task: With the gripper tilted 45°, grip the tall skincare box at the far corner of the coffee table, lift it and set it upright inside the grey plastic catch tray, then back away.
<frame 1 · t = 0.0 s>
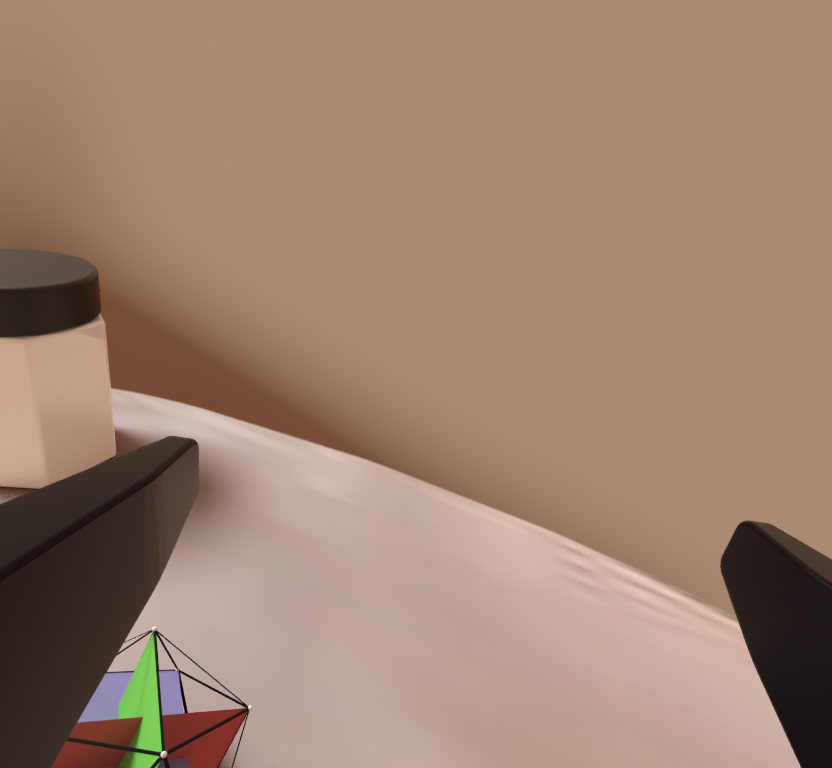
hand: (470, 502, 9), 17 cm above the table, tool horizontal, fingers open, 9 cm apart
jar: (41, 454, 34), on the table
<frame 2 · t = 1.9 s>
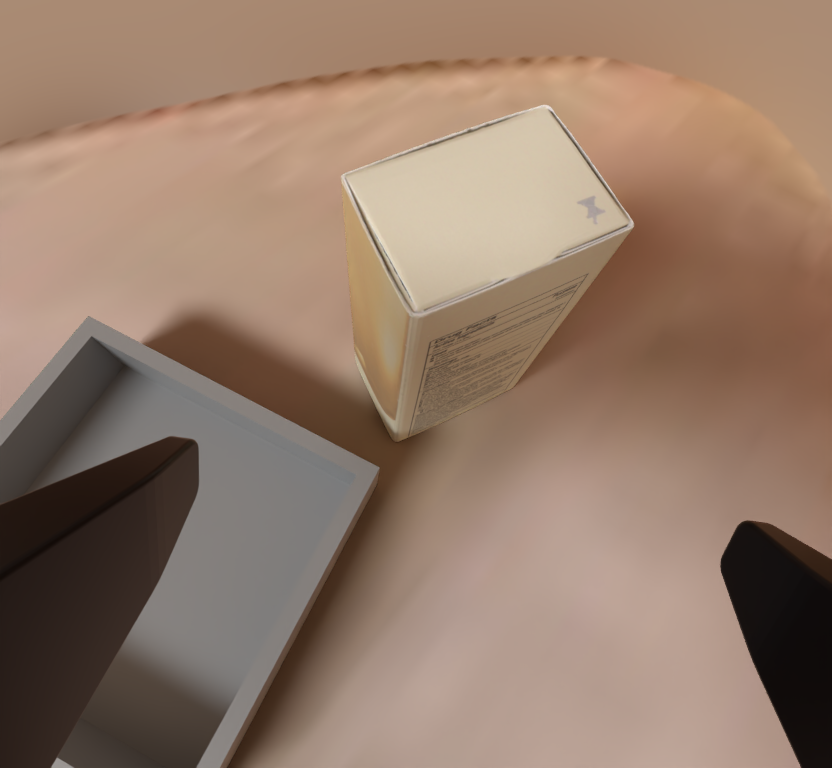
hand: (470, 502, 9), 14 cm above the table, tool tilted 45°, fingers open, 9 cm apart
catch tray: (161, 552, 21), on the table
skincare box: (431, 378, 24), on the table
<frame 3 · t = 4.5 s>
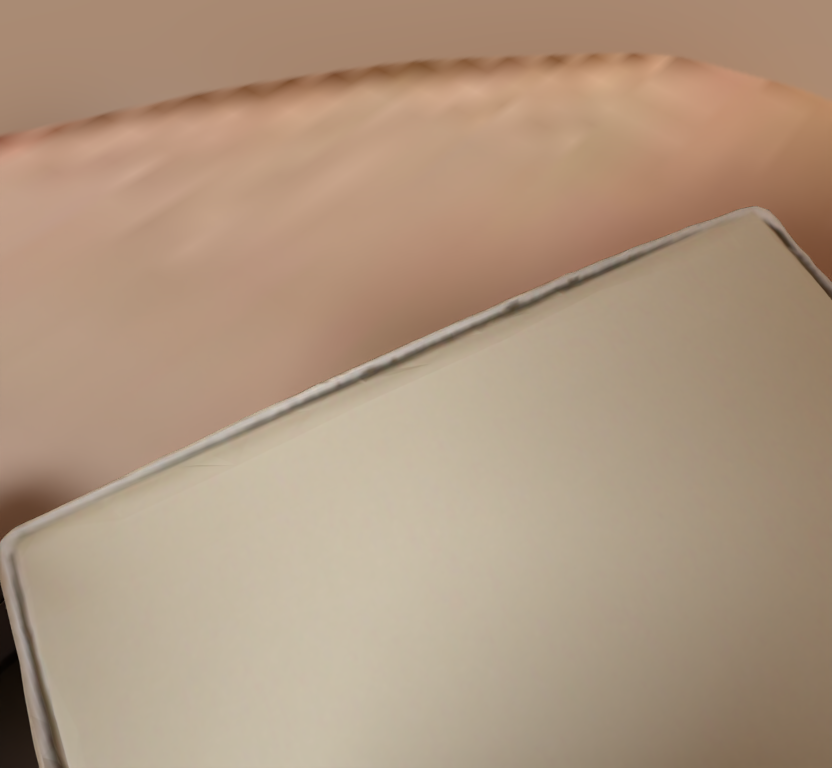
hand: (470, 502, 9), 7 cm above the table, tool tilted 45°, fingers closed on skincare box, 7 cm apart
skincare box: (418, 587, 15), on the table, touching gripper
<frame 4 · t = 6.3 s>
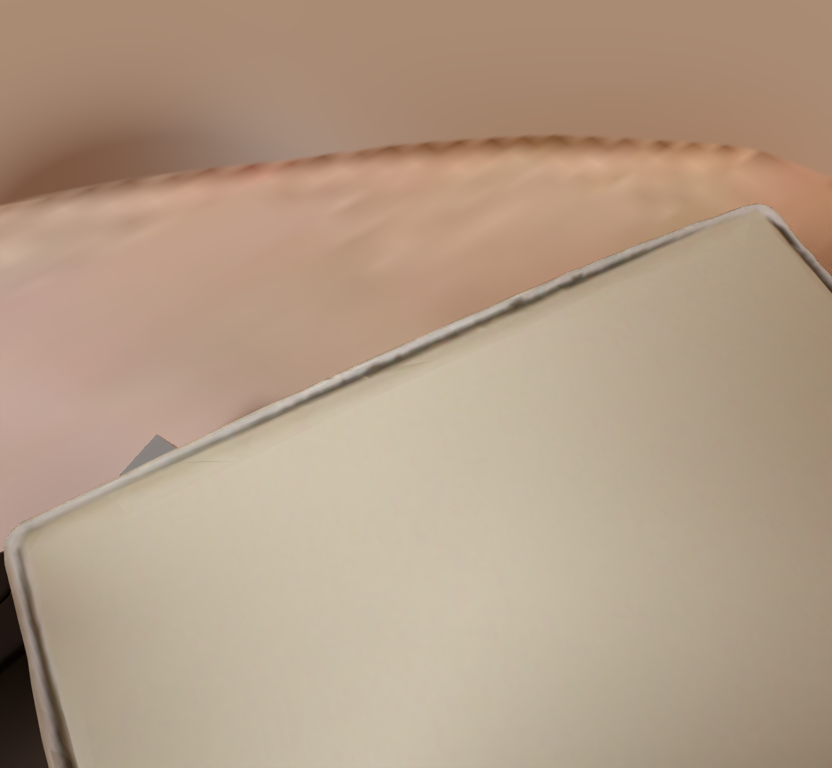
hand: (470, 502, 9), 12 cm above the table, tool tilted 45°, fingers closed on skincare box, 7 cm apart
catch tray: (203, 706, 18), on the table
skincare box: (419, 585, 15), point 5 cm above the table, touching gripper
when the fingers open (8 cm above the table, at t = 8.3 s): skincare box drops 1 cm, resting on catch tray.
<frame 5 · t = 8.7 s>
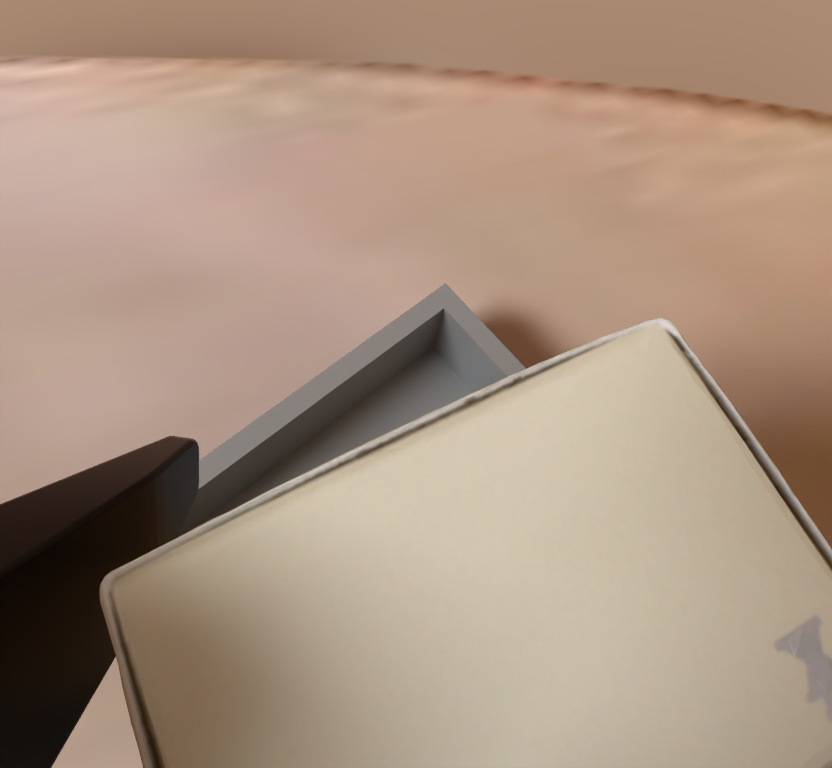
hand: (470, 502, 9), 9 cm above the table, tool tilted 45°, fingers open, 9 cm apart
catch tray: (412, 585, 17), on the table
skincare box: (409, 593, 16), resting on catch tray
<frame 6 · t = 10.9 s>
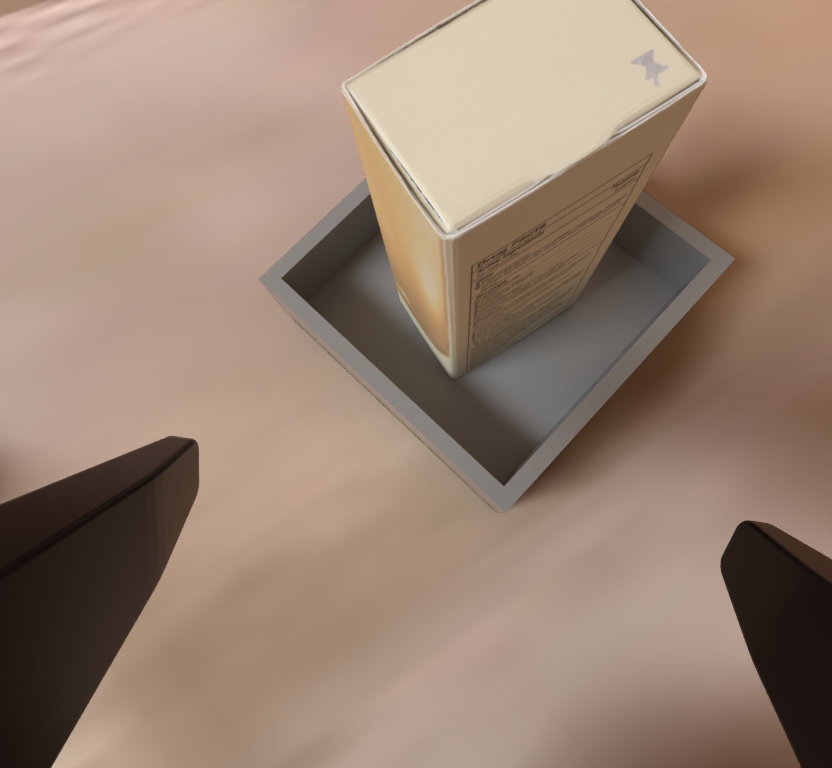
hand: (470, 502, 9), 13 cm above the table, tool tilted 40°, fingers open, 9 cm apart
catch tray: (485, 304, 23), on the table
skincare box: (483, 305, 23), resting on catch tray
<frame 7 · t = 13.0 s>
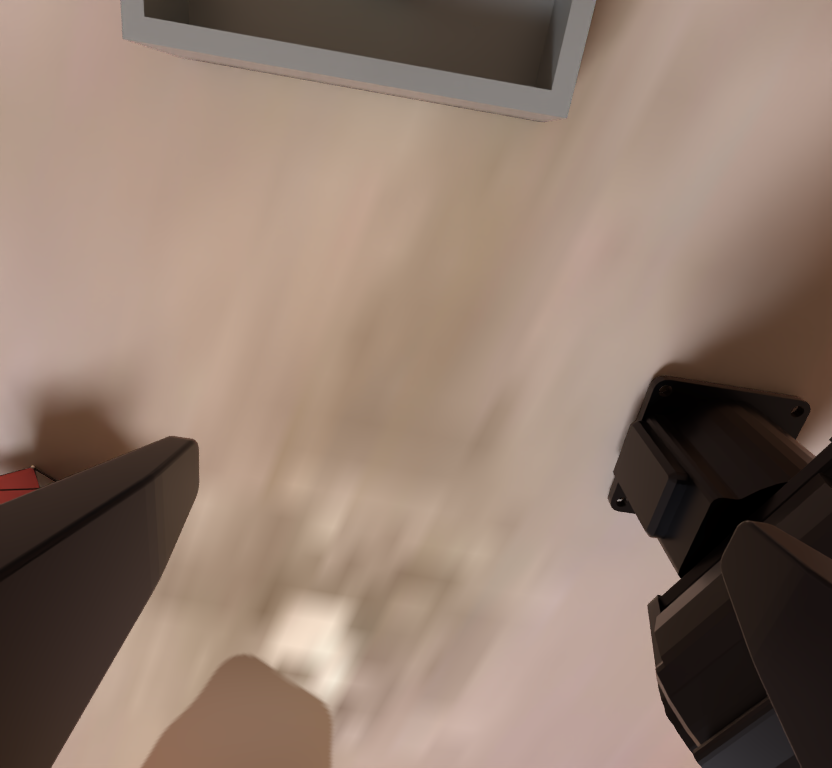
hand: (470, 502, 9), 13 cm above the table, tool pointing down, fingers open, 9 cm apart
geometric puzzle: (65, 504, 26), on the table
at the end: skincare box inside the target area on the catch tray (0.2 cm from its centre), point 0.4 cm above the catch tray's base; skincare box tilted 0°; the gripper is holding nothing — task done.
